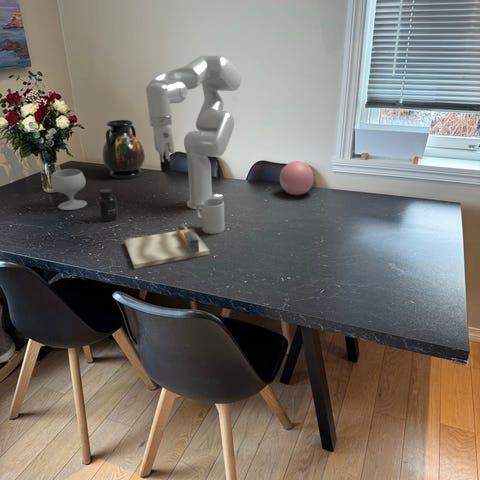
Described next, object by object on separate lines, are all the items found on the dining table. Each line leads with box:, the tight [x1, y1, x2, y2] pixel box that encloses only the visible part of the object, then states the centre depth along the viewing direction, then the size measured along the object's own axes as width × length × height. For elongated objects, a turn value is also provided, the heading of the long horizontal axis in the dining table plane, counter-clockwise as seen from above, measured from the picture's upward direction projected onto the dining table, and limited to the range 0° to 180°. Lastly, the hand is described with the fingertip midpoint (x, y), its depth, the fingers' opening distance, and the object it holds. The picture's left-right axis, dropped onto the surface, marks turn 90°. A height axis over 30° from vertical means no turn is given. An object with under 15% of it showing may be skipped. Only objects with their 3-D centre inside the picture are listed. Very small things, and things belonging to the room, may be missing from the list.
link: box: [175, 226, 188, 246], centre depth 150 cm, size 14×4×2 cm, turn 24°
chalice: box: [50, 168, 88, 211], centre depth 184 cm, size 14×14×15 cm
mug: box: [195, 199, 226, 235], centre depth 160 cm, size 12×8×11 cm
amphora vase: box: [102, 119, 146, 180], centre depth 223 cm, size 22×22×28 cm
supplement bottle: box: [97, 188, 119, 222], centre depth 170 cm, size 7×7×12 cm
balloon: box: [279, 160, 315, 196], centre depth 196 cm, size 15×20×15 cm
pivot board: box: [123, 223, 211, 269], centre depth 146 cm, size 25×20×6 cm
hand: (166, 171), depth 157 cm, fingers closed
